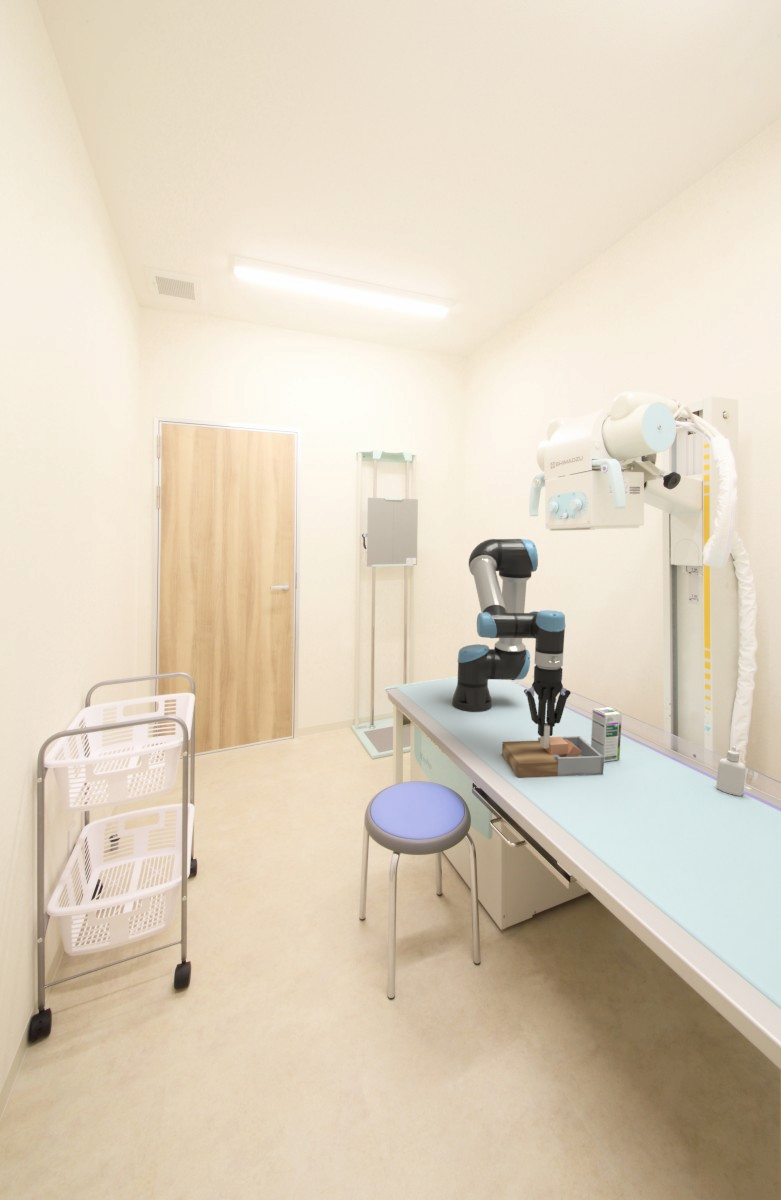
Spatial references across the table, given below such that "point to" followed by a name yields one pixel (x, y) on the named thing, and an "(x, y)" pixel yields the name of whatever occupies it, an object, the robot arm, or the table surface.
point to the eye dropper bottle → (731, 774)
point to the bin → (580, 760)
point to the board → (529, 759)
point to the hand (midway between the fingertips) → (544, 746)
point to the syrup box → (606, 732)
